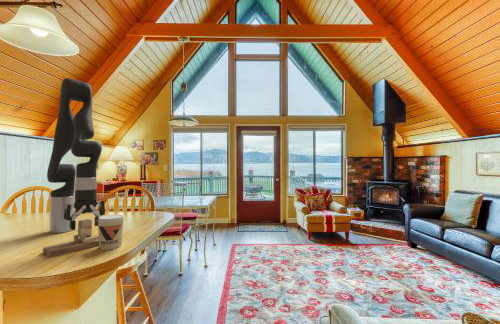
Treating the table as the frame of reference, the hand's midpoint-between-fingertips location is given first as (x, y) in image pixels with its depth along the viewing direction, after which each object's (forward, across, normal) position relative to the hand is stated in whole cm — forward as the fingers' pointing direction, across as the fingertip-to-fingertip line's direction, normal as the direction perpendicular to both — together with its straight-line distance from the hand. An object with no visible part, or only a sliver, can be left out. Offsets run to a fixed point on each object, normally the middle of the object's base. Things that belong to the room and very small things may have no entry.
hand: (85, 227), depth 100 cm
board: (+7, +3, +2) cm, 8 cm away
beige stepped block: (+7, 0, 0) cm, 7 cm away
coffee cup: (+7, -5, +11) cm, 14 cm away
